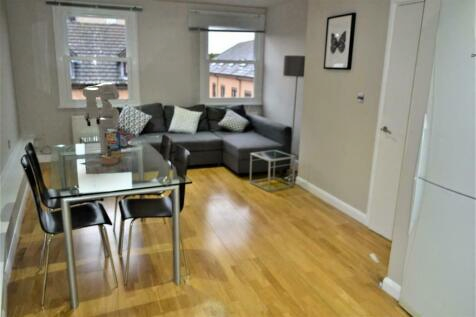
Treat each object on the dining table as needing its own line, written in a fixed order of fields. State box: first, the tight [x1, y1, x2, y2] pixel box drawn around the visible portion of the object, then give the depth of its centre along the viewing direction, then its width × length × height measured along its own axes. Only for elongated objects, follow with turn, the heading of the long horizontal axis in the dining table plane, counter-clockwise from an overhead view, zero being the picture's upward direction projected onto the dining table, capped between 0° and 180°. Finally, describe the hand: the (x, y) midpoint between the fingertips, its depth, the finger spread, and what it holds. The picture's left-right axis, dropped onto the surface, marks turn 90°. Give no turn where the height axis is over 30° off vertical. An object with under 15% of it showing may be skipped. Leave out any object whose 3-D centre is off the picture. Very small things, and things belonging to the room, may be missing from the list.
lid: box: [99, 149, 119, 160], centre depth 299 cm, size 14×14×6 cm
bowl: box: [100, 157, 119, 165], centre depth 300 cm, size 12×12×5 cm
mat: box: [80, 159, 102, 167], centre depth 299 cm, size 13×13×1 cm
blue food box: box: [105, 131, 122, 159], centre depth 315 cm, size 7×11×22 cm, turn 121°
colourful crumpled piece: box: [117, 129, 135, 148], centre depth 367 cm, size 20×22×18 cm
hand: (93, 125), depth 306 cm, fingers open, 9 cm apart
